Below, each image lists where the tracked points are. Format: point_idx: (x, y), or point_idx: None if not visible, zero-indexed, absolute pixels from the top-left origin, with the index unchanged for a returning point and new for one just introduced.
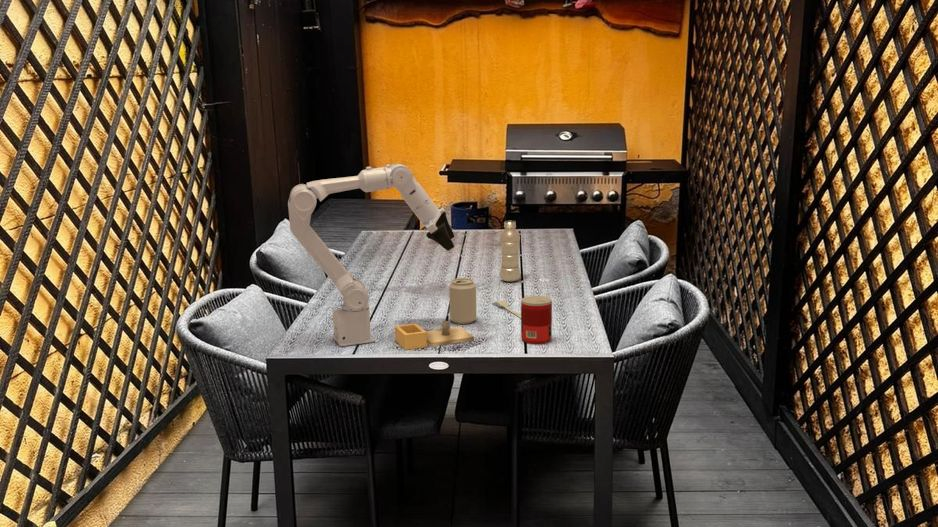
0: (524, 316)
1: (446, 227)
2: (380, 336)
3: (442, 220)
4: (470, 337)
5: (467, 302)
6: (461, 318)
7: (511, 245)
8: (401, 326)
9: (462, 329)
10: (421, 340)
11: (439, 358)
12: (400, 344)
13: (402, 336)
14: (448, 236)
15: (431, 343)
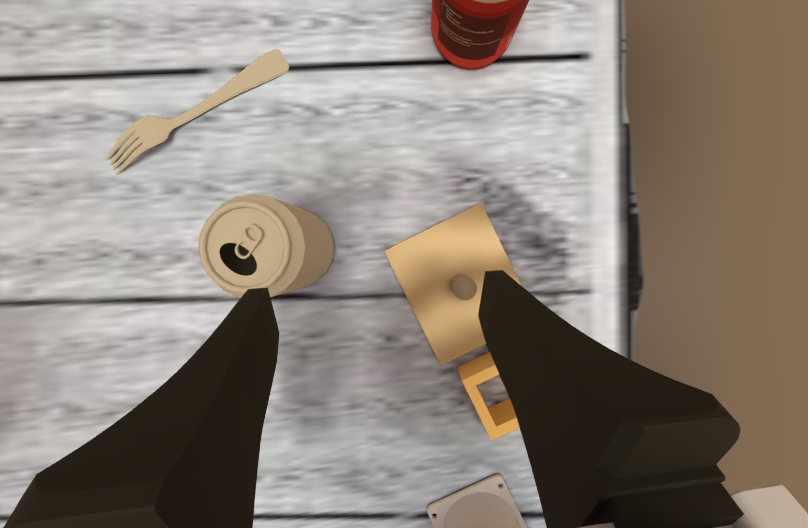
0: (516, 17)
1: (240, 381)
2: (446, 465)
3: (216, 465)
4: (485, 213)
5: (314, 228)
6: (331, 250)
7: None
8: (492, 420)
9: (412, 241)
10: None
11: (630, 286)
12: None
13: None
14: (572, 327)
15: None
